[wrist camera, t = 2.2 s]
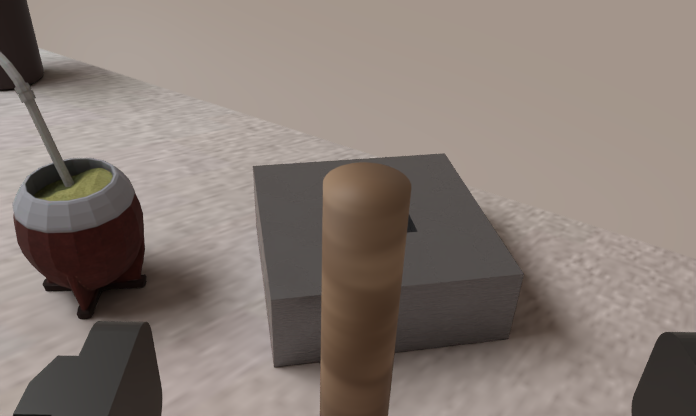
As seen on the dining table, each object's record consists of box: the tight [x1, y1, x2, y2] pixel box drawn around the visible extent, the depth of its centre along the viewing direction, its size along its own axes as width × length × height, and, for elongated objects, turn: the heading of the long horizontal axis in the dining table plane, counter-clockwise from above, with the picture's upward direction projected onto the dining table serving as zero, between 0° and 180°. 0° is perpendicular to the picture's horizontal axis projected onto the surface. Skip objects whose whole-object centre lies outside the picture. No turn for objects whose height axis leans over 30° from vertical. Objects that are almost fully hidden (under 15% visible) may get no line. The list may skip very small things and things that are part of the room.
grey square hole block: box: [253, 154, 524, 367], centre depth 41 cm, size 14×14×5 cm
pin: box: [320, 162, 411, 416], centre depth 26 cm, size 3×3×16 cm
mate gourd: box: [0, 52, 146, 319], centre depth 37 cm, size 8×8×15 cm
